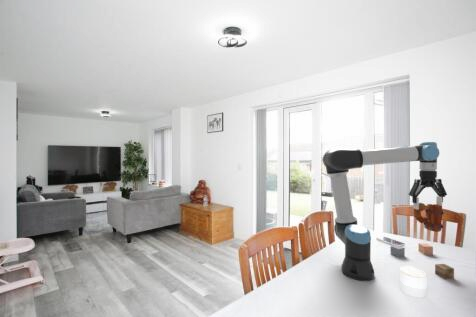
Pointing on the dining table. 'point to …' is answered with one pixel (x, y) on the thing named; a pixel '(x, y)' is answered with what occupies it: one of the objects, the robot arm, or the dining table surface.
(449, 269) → the walnut block
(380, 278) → the dining table surface
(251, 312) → the dining table surface
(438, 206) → the mug
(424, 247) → the terracotta block
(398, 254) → the slate block
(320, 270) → the dining table surface
